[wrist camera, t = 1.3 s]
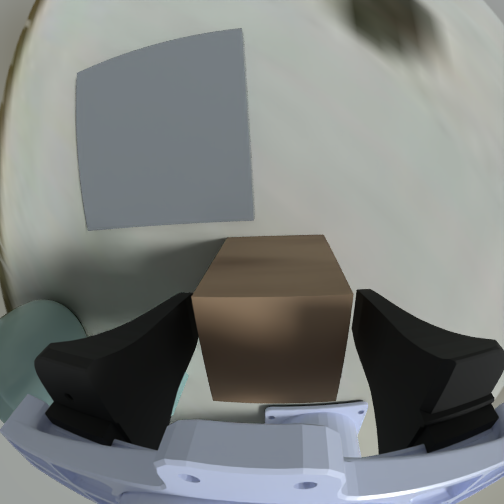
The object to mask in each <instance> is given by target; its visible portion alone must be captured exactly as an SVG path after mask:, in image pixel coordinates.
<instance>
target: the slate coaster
mask: <svg viewBox="0 0 504 504" xmlns="http://www.w3.org/2000/svg"><path fill="white" fill-rule="evenodd" d="M76 131H77V150H78V163H79V173H80V182H81V190H82V198H83V204H84V211H85V217H86V222H87V228H88V231H91V230H103V229H115V228H128V227H141V226H156V225H171V224H188V223H207V222H228V221H252V220H254V219H255V212H254V195H253V178H252V162H251V146H250V130H249V114H248V99H247V83H246V68H245V54H244V39H243V31H242V28H239V29H230V30H223V31H216V32H210V33H204V34H198V35H193V36H188V37H183V38H179V39H174V40H170V41H166V42H162V43H159V44H155V45H151V46H148V47H144V48H141V49H138V50H135V51H132V52H129V53H126V54H123V55H120V56H117V57H114V58H112V59H109V60H107V61H104V62H101V63H99V64H97V65H94V66H92V67H89V68H87V69H85V70H83V71H80V72H78V73H77V86H76Z"/></svg>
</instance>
